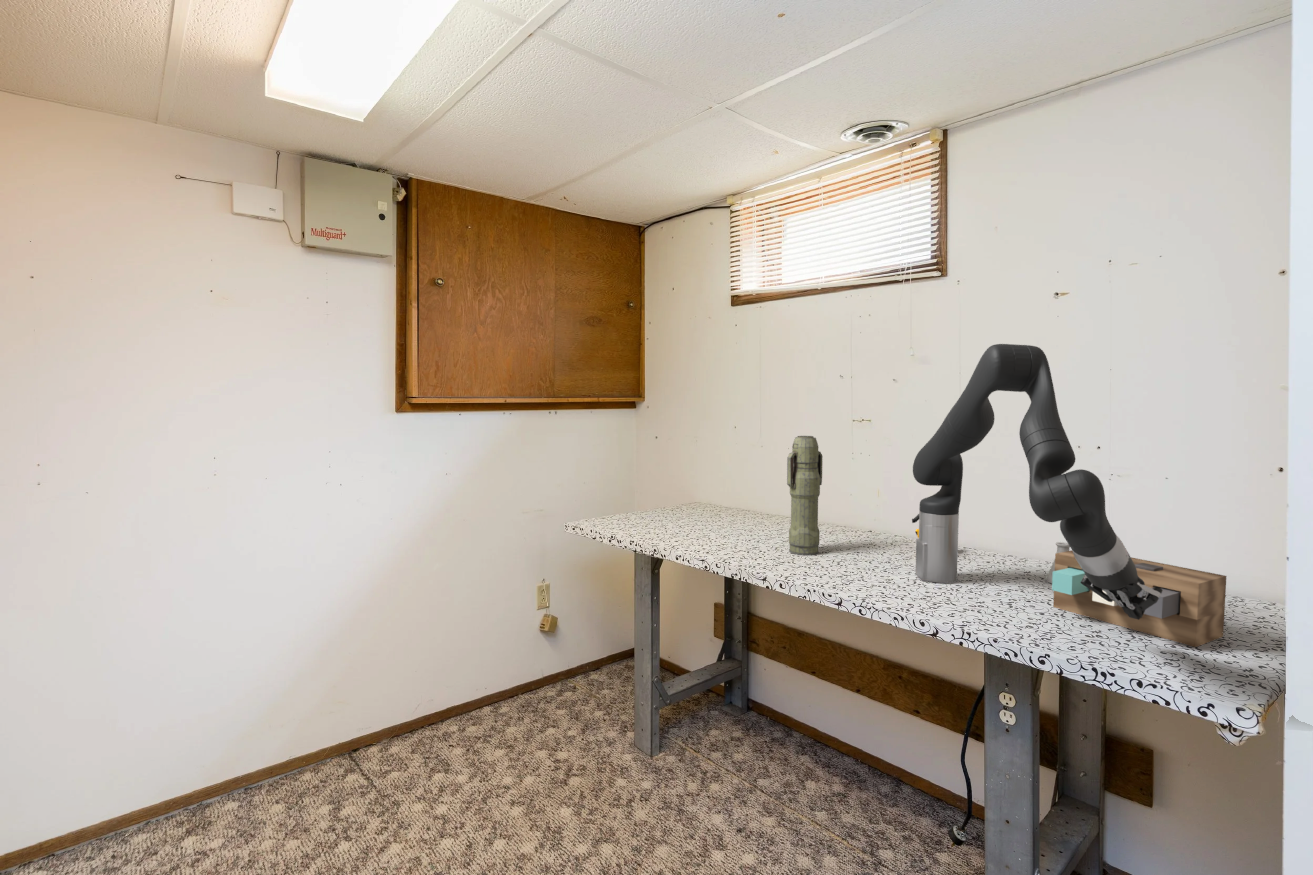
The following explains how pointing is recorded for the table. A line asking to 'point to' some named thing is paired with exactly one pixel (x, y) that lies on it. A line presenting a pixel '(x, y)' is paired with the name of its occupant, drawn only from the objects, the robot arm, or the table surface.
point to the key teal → (1068, 581)
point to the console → (1189, 627)
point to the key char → (1165, 604)
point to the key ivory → (1102, 599)
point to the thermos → (804, 495)
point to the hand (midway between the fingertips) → (1136, 614)
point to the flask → (1060, 548)
